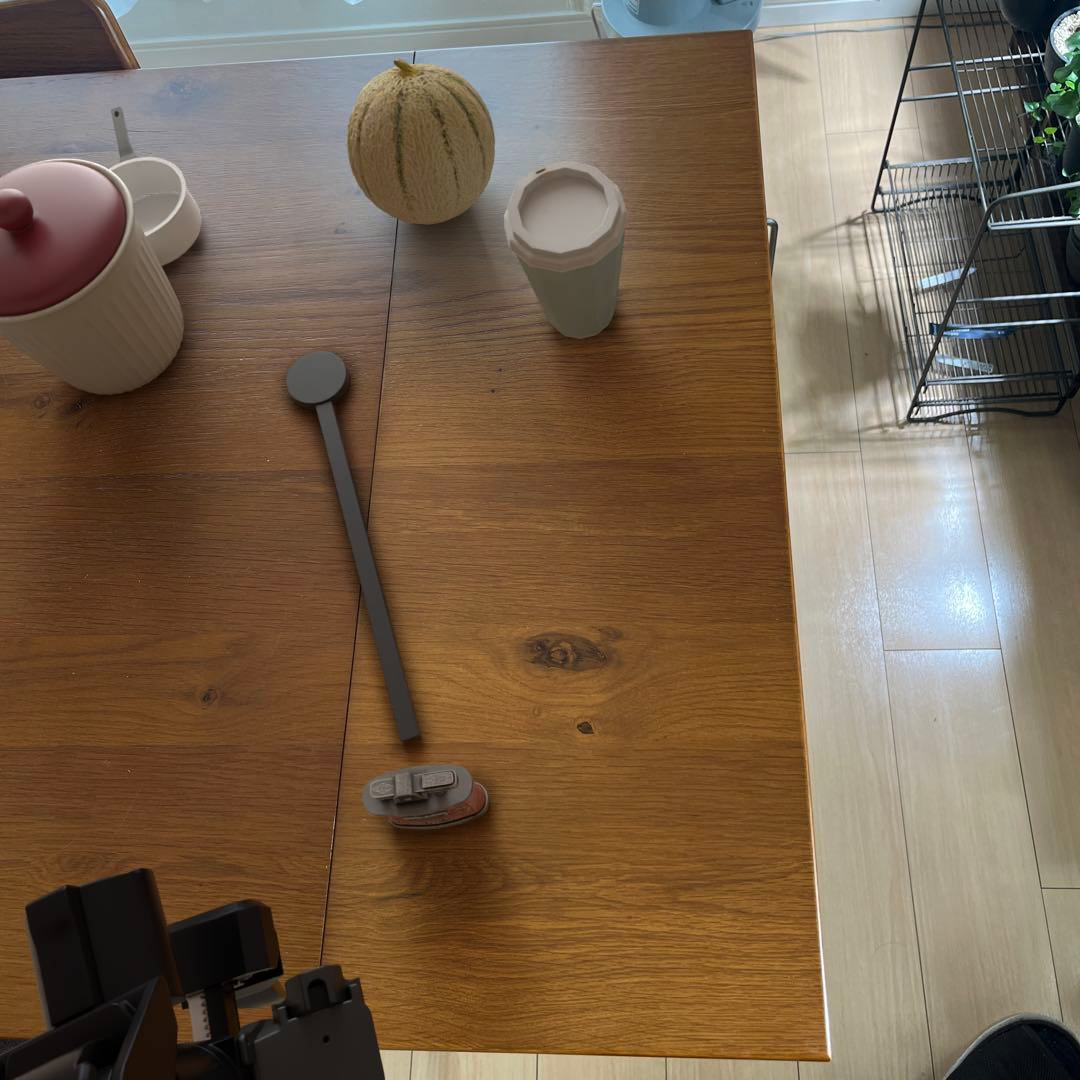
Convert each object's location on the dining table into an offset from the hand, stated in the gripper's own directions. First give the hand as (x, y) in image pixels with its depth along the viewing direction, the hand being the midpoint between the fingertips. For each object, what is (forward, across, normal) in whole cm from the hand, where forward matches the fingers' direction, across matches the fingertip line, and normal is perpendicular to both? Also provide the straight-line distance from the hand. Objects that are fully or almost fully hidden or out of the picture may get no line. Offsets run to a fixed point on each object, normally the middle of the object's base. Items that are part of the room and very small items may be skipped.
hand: (294, 1079), depth 58 cm
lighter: (+12, +15, -11) cm, 22 cm away
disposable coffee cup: (+12, +56, -36) cm, 68 cm away
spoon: (+12, +41, -10) cm, 44 cm away
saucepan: (+12, +88, +3) cm, 89 cm away
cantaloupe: (+12, +76, -27) cm, 81 cm away
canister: (+12, +70, +8) cm, 72 cm away
